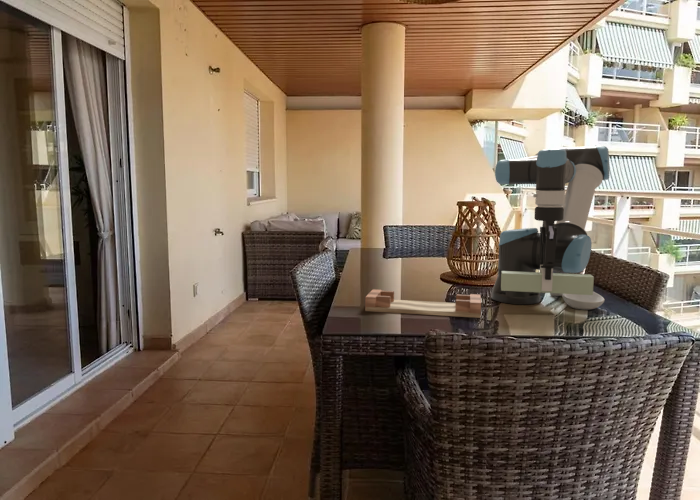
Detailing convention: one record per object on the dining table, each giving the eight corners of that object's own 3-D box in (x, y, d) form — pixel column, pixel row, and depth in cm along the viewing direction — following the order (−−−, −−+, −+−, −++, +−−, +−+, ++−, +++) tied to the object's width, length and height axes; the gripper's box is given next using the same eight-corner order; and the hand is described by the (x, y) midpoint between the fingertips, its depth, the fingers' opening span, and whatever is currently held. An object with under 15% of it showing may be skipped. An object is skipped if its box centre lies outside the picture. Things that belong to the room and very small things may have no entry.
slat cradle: (372, 302, 163) (372, 289, 162) (479, 308, 155) (480, 294, 155) (365, 310, 151) (365, 297, 151) (480, 317, 144) (481, 303, 143)
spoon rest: (611, 312, 151) (613, 288, 150) (573, 313, 150) (574, 289, 150) (572, 295, 175) (573, 275, 174) (538, 296, 174) (539, 275, 173)
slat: (500, 287, 150) (501, 270, 149) (589, 292, 144) (590, 274, 143) (501, 290, 146) (502, 273, 146) (592, 295, 140) (593, 277, 140)
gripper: (531, 204, 151) (528, 282, 154) (538, 207, 135) (535, 295, 138) (558, 204, 149) (554, 283, 152) (569, 207, 133) (564, 296, 136)
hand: (545, 288), depth 145 cm, fingers closed on slat, 4 cm apart
